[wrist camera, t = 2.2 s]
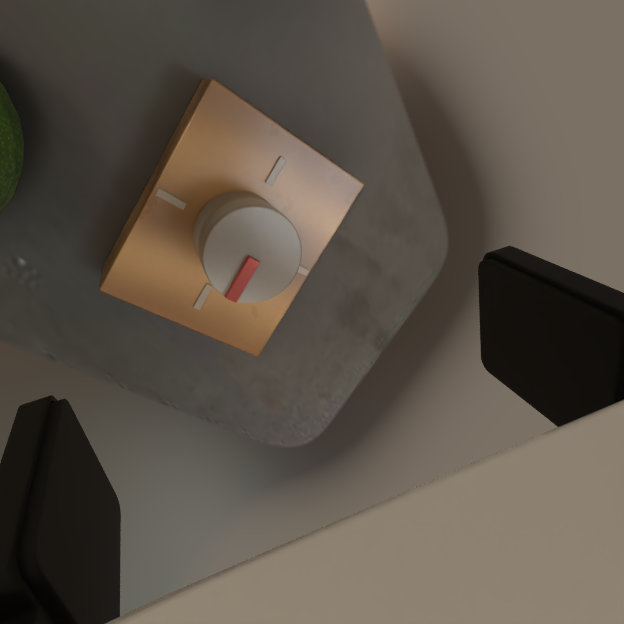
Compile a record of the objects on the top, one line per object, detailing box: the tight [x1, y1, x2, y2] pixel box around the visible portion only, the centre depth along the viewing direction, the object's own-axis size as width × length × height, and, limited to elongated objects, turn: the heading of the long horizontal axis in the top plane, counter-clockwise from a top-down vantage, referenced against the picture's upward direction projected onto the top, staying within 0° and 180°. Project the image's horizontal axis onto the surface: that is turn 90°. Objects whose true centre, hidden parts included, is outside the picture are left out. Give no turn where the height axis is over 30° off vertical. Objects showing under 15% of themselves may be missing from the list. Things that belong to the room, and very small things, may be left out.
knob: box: [193, 191, 302, 303], centre depth 23 cm, size 4×4×4 cm
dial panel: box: [99, 78, 364, 356], centre depth 26 cm, size 11×9×3 cm
